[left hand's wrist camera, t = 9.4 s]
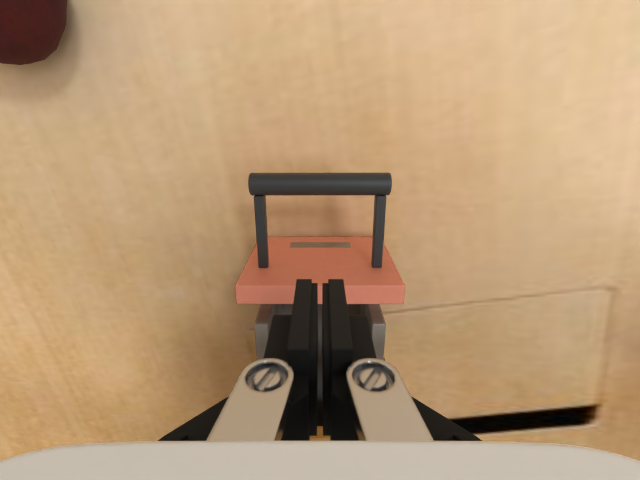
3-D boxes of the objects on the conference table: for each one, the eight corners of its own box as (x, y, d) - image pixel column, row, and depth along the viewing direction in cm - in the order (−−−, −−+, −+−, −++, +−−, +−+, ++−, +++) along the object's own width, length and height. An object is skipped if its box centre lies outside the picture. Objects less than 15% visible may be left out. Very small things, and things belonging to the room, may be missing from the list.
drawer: (255, 161, 26) (225, 181, 18) (385, 161, 26) (414, 180, 18) (270, 412, 33) (254, 505, 25) (370, 412, 33) (386, 505, 25)
